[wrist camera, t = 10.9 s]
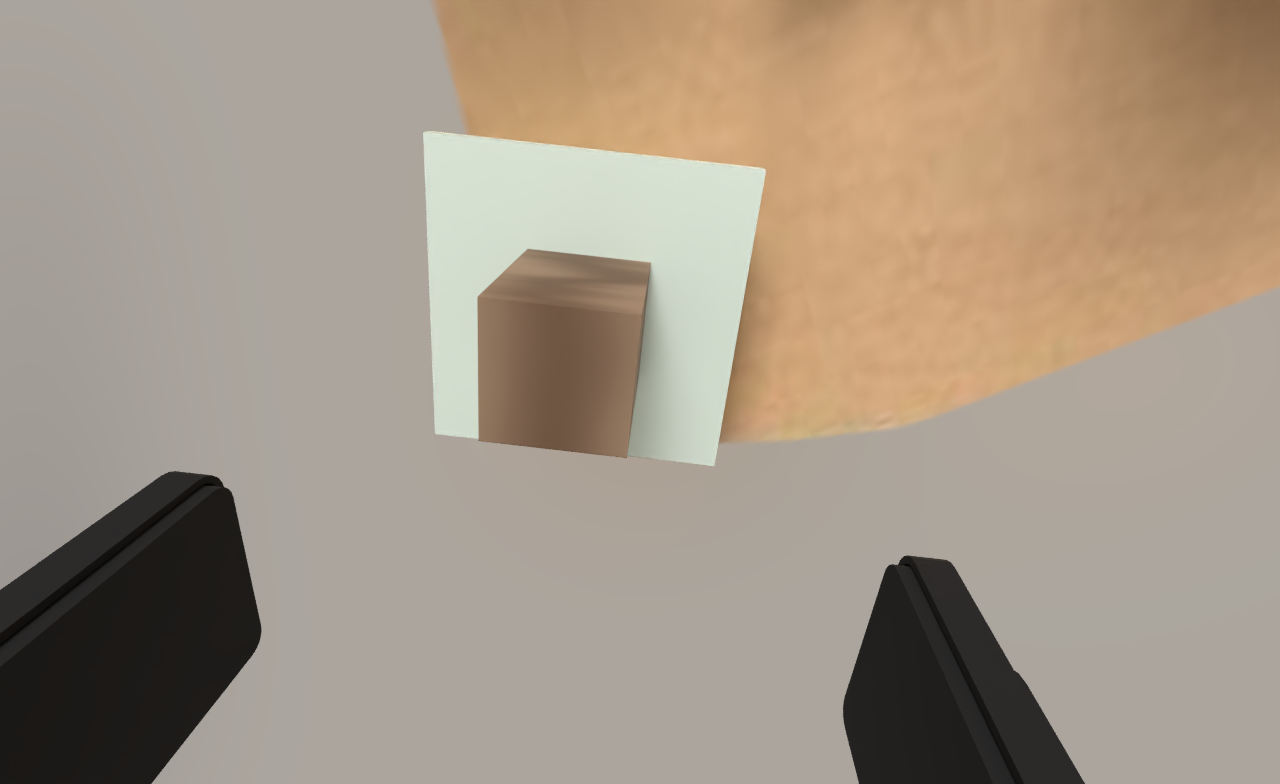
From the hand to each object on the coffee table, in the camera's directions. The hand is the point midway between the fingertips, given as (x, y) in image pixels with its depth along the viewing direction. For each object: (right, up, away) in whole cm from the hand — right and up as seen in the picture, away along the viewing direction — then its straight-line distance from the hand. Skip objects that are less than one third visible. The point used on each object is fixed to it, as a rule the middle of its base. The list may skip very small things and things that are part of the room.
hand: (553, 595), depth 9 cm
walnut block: (-1, +6, +17) cm, 19 cm away
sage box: (-1, +9, +23) cm, 24 cm away
